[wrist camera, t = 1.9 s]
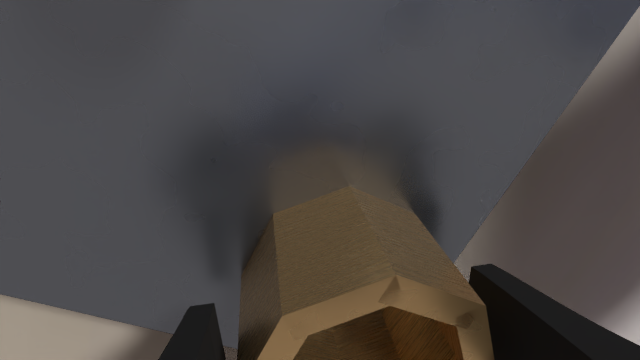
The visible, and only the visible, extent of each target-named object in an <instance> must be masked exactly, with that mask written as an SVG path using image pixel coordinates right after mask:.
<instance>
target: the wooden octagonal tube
mask: <svg viewBox="0 0 640 360" xmlns="http://www.w3.org/2000/svg"><path fill="white" fill-rule="evenodd" d="M237 360H494V354H493V348H492V341H491V335H490V329H489V323H488V316H487V310H486V305H485V304H484V303H483V301H482V300H481V299H480V298H479V296H478V295H477V294H476V292H475V291H474V290H473V288H472V287H471V286H470V285H469V283H468V282H467V281H466V279H465V278H464V277H463V275H462V274H461V273H460V272H459V270H458V269H457V268H456V266H455V265H454V264H453V262H452V261H451V260H450V259H449V257H448V256H447V255H446V253H445V252H444V251H443V249H442V248H441V247H440V246H439V244H438V243H437V242H436V240H435V239H434V238H433V236H432V235H431V234H430V233H429V231H428V230H427V229H426V227H425V226H424V225H423V223H422V222H421V221H420V220H419V218H418V217H417V216H416V214H415V213H413V212H411V211H408V210H406V209H404V208H401V207H399V206H396V205H394V204H391V203H389V202H387V201H384V200H382V199H379V198H377V197H375V196H372V195H370V194H367V193H365V192H362V191H360V190H358V189H355V188H353V187H350V186H348V187H346V188H343V189H340V190H337V191H334V192H332V193H329V194H326V195H323V196H321V197H318V198H315V199H312V200H310V201H307V202H304V203H301V204H298V205H296V206H293V207H290V208H287V209H285V210H282V211H279V212H276V213H274V214H272V216H271V218H270V220H269V222H268V224H267V226H266V228H265V230H264V232H263V234H262V236H261V238H260V240H259V242H258V244H257V246H256V248H255V250H254V252H253V254H252V256H251V258H250V260H249V261H248V263H247V265H246V267H245V269H244V271H243V273H242V275H241V291H240V312H239V333H238V355H237Z"/></svg>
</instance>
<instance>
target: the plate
mask: <svg viewBox="0 0 640 360" xmlns="http://www.w3.org/2000/svg"><path fill="white" fill-rule="evenodd" d="M639 6H640V0H0V294H2V295H7V296H11V297H15V298H20V299H24V300H28V301H32V302H37V303H41V304H45V305H50V306H54V307H58V308H63V309H67V310H71V311H76V312H80V313H84V314H89V315H93V316H97V317H102V318H106V319H110V320H114V321H119V322H123V323H127V324H132V325H136V326H140V327H145V328H149V329H153V330H158V331H162V332H166V333H171V334H174V333H175V331H176V329H177V327H178V325H179V324H180V322H181V320H182V318H183V316H184V315H185V313H186V311H187V309H188V308H189V307H190V306H195V305H202V304H209V303H214V304H215V309H216V314H217V319H218V324H219V329H220V334H221V338H222V343H223V346H227V347H231V348H235V349H238V333H239V312H240V291H241V275H242V273H243V271H244V269H245V267H246V265H247V263H248V261H249V260H250V258H251V256H252V254H253V252H254V250H255V248H256V246H257V244H258V242H259V240H260V238H261V236H262V234H263V232H264V230H265V228H266V226H267V224H268V222H269V220H270V218H271V216H272V214H274V213H276V212H279V211H282V210H285V209H287V208H290V207H293V206H296V205H298V204H301V203H304V202H307V201H310V200H312V199H315V198H318V197H321V196H323V195H326V194H329V193H332V192H334V191H337V190H340V189H343V188H346V187H348V186H350V187H353V188H355V189H358V190H360V191H362V192H365V193H367V194H370V195H372V196H375V197H377V198H379V199H382V200H384V201H387V202H389V203H391V204H394V205H396V206H399V207H401V208H404V209H406V210H408V211H411V212H413V213H415V214H416V216H417V217H418V218H419V220H420V221H421V222H422V223H423V225H424V226H425V227H426V229H427V230H428V231H429V233H430V234H431V235H432V236H433V238H434V239H435V240H436V242H437V243H438V244H439V246H440V247H441V248H442V249H443V251H444V252H445V253H446V255H447V256H448V257H449V259H450V260H451V261H452V262H453V263H454V262H455V260H456V259H457V258H458V256H459V255H460V253H461V252H462V251H463V249H464V248H465V246H466V245H467V244H468V242H469V241H470V240H471V238H472V237H473V235H474V234H475V233H476V231H477V230H478V229H479V227H480V226H481V224H482V223H483V222H484V220H485V219H486V217H487V216H488V215H489V213H490V212H491V211H492V209H493V208H494V206H495V205H496V204H497V202H498V201H499V199H500V198H501V197H502V195H503V194H504V193H505V191H506V190H507V188H508V187H509V186H510V184H511V183H512V181H513V180H514V179H515V177H516V176H517V175H518V173H519V172H520V170H521V169H522V168H523V166H524V165H525V164H526V162H527V161H528V159H529V158H530V157H531V155H532V154H533V152H534V151H535V150H536V148H537V147H538V146H539V144H540V143H541V141H542V140H543V139H544V137H545V136H546V134H547V133H548V132H549V130H550V129H551V128H552V126H553V125H554V123H555V122H556V121H557V119H558V118H559V117H560V115H561V114H562V112H563V111H564V110H565V108H566V107H567V105H568V104H569V103H570V101H571V100H572V99H573V97H574V96H575V94H576V93H577V92H578V90H579V89H580V87H581V86H582V85H583V83H584V82H585V81H586V79H587V78H588V76H589V75H590V74H591V72H592V71H593V69H594V68H595V67H596V65H597V64H598V63H599V61H600V60H601V58H602V57H603V56H604V54H605V53H606V52H607V50H608V49H609V47H610V46H611V45H612V43H613V42H614V40H615V39H616V38H617V36H618V35H619V34H620V32H621V31H622V29H623V28H624V27H625V25H626V24H627V22H628V21H629V20H630V18H631V17H632V16H633V14H634V13H635V11H636V10H637V9H638V7H639Z"/></svg>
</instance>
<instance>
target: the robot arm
mask: <svg viewBox="0 0 640 360" xmlns="http://www.w3.org/2000/svg"><path fill="white" fill-rule="evenodd" d="M469 285H470V286H471V287H472V288H473V290H474V291H475V292H476V294H477V295H478V296H479V298H480V299H481V300H482V301H483V303H484V304H485V305H486V310H487V316H488V323H489V329H490V335H491V341H492V348H493V354H494V360H640V346H639V345H637V344H635V343H633V342H631V341H629V340H627V339H625V338H623V337H621V336H619V335H617V334H615V333H613V332H611V331H609V330H607V329H605V328H604V327H602V326H600V325H598V324H596V323H594V322H592V321H590V320H588V319H587V318H585V317H583V316H581V315H579V314H578V313H576V312H574V311H572V310H570V309H569V308H567V307H565V306H563V305H562V304H560V303H558V302H556V301H555V300H553V299H551V298H550V297H548V296H546V295H545V294H543V293H541V292H539V291H538V290H536V289H534V288H533V287H531V286H529V285H528V284H526V283H524V282H523V281H521V280H519V279H517V278H516V277H514V276H512V275H511V274H509V273H507V272H505V271H504V270H502V269H500V268H498V267H496V266H494V265H493V264H487V265H479V266H472V267H471V272H470V279H469ZM158 360H226V358H225V353H224V348H223V343H222V338H221V334H220V329H219V324H218V319H217V314H216V309H215V304H214V303H209V304H202V305H195V306H190V307H189V308H188V309H187V311H186V313H185V315H184V316H183V318H182V320H181V322H180V324H179V325H178V327H177V329H176V331H175V333H174V334H173V336H172V338H171V339H170V341H169V343H168V345H167V346H166V348H165V350H164V351H163V353H162V354H161V356H160V358H159V359H158Z"/></svg>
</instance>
